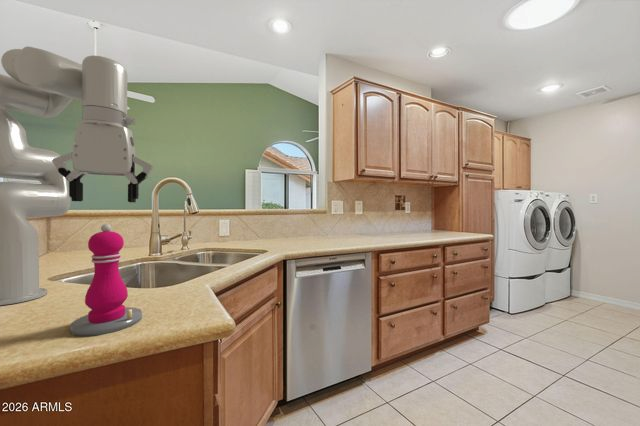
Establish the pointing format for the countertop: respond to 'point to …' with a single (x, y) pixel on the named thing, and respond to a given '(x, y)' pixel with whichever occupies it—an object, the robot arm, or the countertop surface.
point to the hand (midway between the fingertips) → (105, 201)
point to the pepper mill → (106, 277)
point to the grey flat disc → (105, 324)
